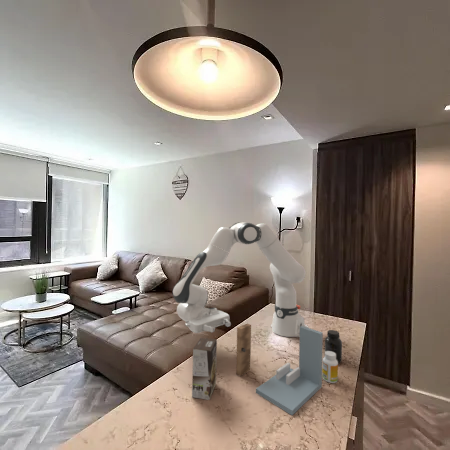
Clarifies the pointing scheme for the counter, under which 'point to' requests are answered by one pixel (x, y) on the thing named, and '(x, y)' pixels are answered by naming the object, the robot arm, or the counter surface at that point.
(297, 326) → the robot arm
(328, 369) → the supplement bottle
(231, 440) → the counter surface
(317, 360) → the blue-grey l-shaped stand
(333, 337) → the supplement bottle
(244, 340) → the door panel
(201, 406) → the counter surface
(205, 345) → the coffee box
